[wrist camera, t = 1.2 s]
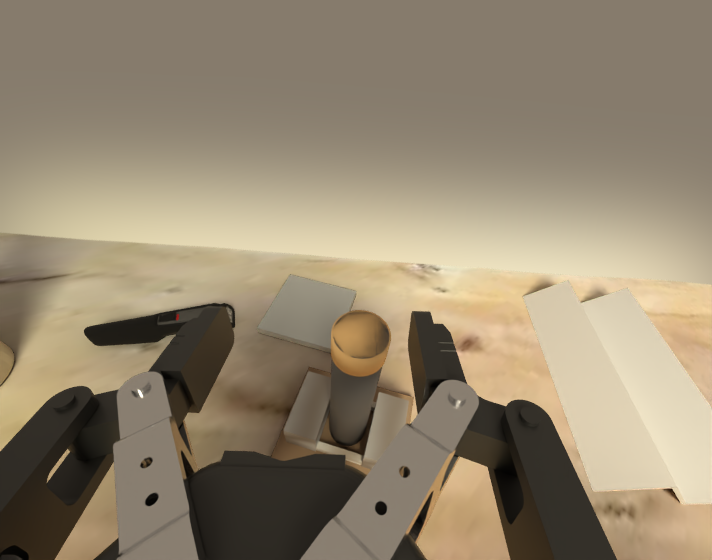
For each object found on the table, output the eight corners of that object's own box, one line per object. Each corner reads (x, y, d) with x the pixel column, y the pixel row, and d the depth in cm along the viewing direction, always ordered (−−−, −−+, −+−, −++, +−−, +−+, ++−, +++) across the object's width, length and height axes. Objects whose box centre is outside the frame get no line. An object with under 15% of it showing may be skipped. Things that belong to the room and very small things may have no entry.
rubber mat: (258, 332, 39) (256, 327, 39) (290, 279, 46) (290, 274, 46) (333, 354, 38) (334, 349, 37) (355, 295, 45) (356, 291, 44)
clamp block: (270, 464, 29) (264, 451, 26) (309, 371, 36) (308, 352, 33) (395, 507, 28) (404, 498, 25) (411, 401, 35) (419, 384, 32)
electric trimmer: (102, 330, 38) (88, 315, 36) (235, 309, 42) (229, 293, 40) (93, 357, 36) (77, 342, 34) (235, 332, 39) (229, 316, 37)
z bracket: (609, 506, 33) (592, 490, 30) (537, 318, 50) (522, 296, 47) (777, 502, 27) (777, 482, 24) (628, 289, 44) (617, 262, 41)
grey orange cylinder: (322, 440, 30) (322, 350, 19) (335, 403, 33) (341, 304, 21) (360, 452, 30) (384, 367, 18) (370, 413, 32) (395, 318, 21)
